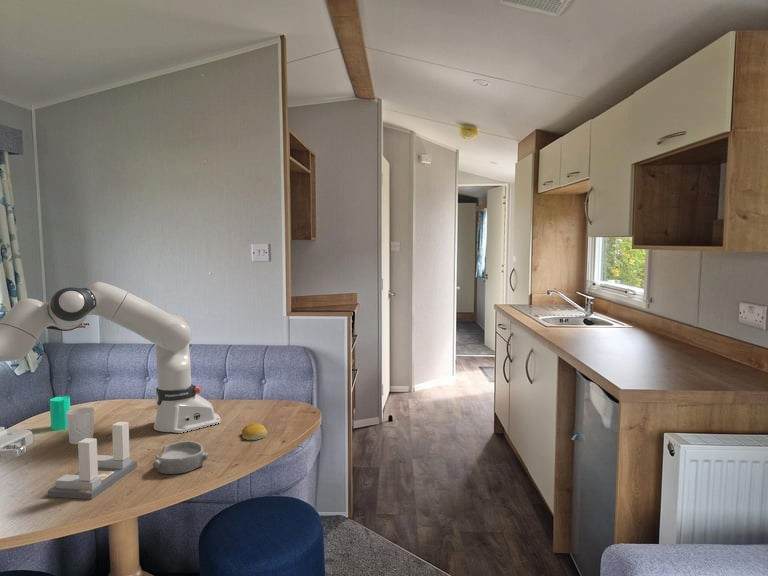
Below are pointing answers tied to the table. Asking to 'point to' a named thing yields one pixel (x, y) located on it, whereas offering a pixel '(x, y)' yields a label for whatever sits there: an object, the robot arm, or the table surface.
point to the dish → (180, 457)
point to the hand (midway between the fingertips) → (21, 451)
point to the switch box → (89, 489)
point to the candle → (59, 412)
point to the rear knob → (120, 440)
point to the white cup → (80, 424)
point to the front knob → (88, 459)
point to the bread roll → (254, 431)
